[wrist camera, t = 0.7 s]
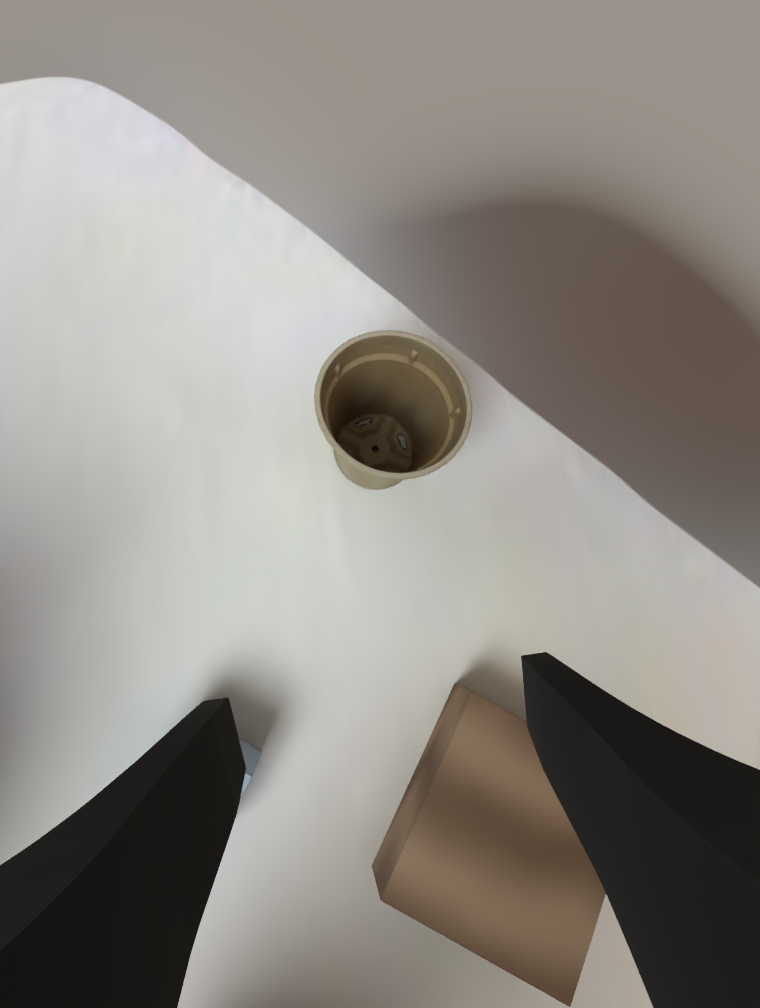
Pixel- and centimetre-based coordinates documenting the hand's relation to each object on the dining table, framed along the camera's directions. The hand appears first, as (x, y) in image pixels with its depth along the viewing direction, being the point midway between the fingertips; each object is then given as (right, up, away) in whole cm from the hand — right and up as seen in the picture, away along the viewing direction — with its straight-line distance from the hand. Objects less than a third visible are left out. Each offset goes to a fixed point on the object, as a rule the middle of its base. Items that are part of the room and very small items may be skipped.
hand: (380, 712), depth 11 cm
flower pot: (0, +9, +24) cm, 26 cm away
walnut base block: (+8, -16, +19) cm, 26 cm away
